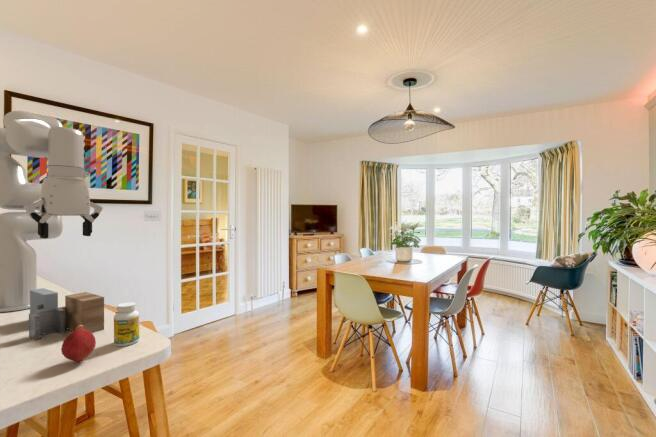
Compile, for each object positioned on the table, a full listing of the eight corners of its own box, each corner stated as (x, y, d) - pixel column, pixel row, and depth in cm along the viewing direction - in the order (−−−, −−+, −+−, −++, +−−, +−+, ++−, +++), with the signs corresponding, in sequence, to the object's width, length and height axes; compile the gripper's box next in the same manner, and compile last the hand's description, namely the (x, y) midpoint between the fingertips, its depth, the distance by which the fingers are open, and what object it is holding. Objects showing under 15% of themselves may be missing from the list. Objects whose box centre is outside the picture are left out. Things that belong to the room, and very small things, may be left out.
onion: (68, 371, 65) (68, 332, 65) (56, 363, 69) (56, 326, 68) (100, 360, 70) (100, 324, 70) (88, 353, 73) (88, 319, 73)
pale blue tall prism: (25, 321, 94) (25, 290, 94) (43, 317, 97) (42, 288, 97) (40, 328, 89) (40, 295, 89) (57, 323, 92) (57, 292, 92)
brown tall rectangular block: (65, 328, 89) (65, 295, 89) (86, 322, 93) (86, 291, 93) (83, 335, 84) (82, 301, 84) (104, 329, 88) (104, 296, 88)
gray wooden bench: (29, 336, 82) (28, 313, 82) (69, 326, 90) (68, 305, 90) (35, 339, 81) (35, 316, 80) (75, 329, 88) (75, 307, 88)
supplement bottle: (138, 336, 84) (138, 300, 83) (139, 343, 79) (140, 305, 79) (113, 340, 81) (113, 303, 81) (113, 348, 76) (113, 308, 76)
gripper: (95, 177, 97) (95, 234, 97) (18, 171, 82) (18, 238, 82) (108, 177, 93) (108, 235, 93) (30, 169, 78) (31, 240, 78)
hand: (66, 237), depth 88 cm, fingers open, 9 cm apart
